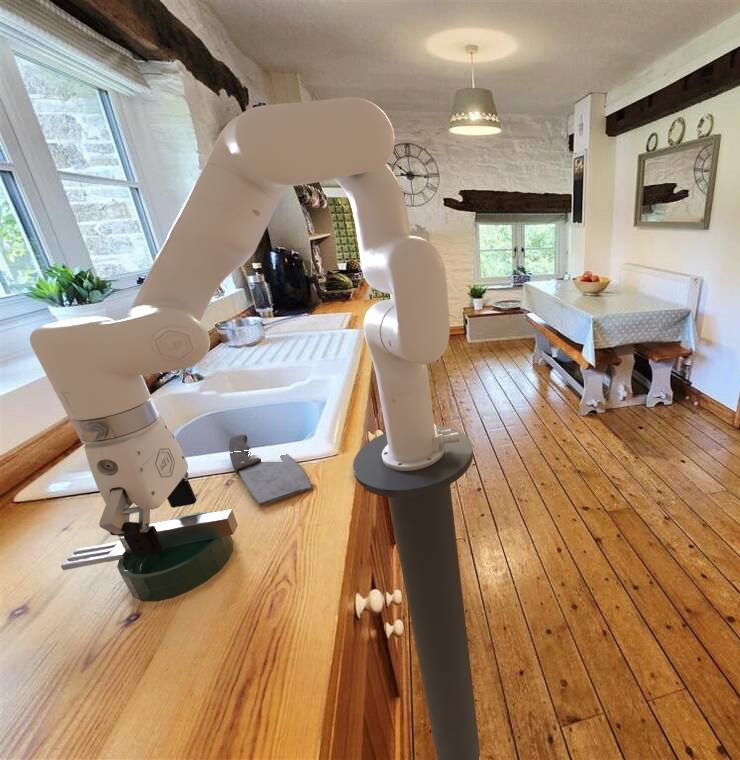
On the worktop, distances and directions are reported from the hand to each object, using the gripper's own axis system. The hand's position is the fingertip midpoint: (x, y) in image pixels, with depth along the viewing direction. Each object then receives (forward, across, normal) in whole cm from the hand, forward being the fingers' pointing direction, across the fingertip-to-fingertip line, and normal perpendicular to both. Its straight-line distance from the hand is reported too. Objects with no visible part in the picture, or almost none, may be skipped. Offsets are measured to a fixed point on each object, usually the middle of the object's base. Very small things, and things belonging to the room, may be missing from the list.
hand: (168, 527), depth 57 cm
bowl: (+8, 0, 0) cm, 8 cm away
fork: (+2, 0, +3) cm, 4 cm away
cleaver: (+8, +25, -4) cm, 26 cm away
